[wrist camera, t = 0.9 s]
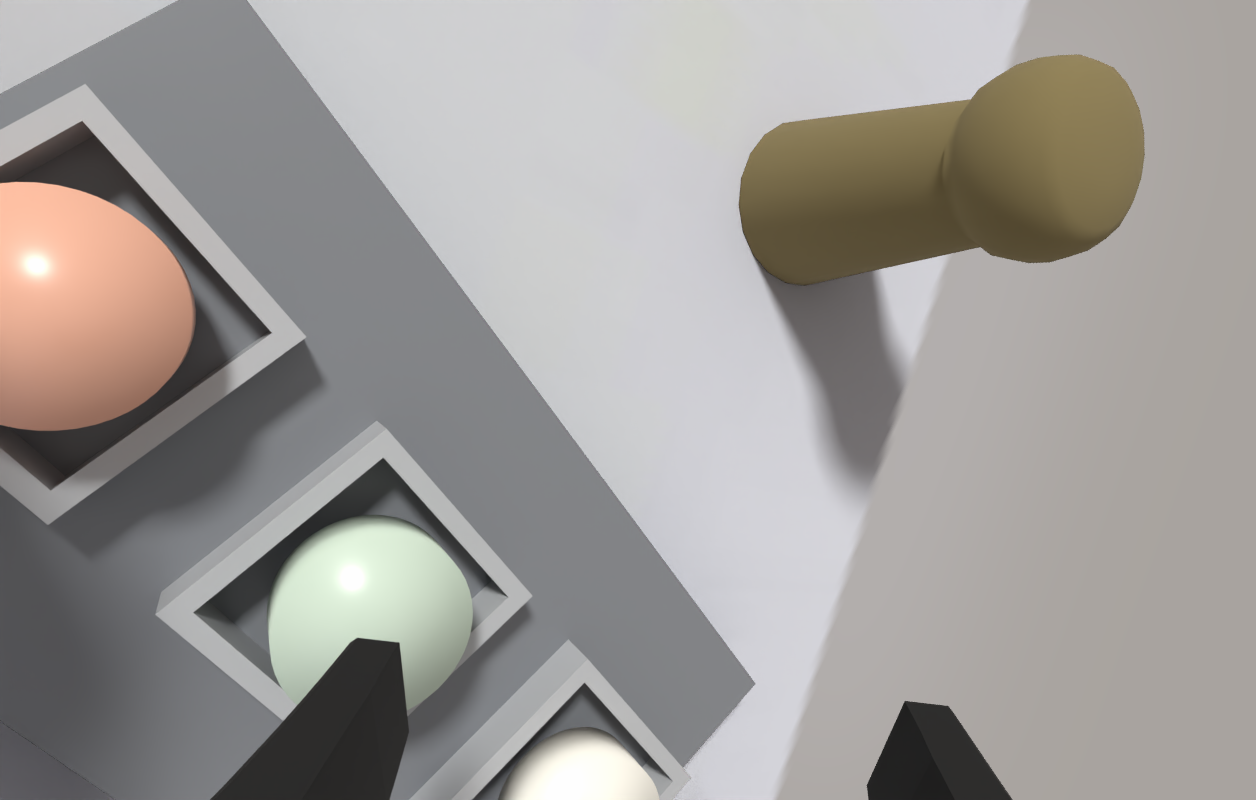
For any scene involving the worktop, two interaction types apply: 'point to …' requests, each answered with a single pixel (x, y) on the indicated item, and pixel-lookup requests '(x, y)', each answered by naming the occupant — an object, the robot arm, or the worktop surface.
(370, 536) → the sage button
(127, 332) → the terracotta button
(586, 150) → the worktop surface
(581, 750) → the cream button
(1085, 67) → the olive pawn
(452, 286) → the button panel
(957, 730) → the robot arm
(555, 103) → the worktop surface
